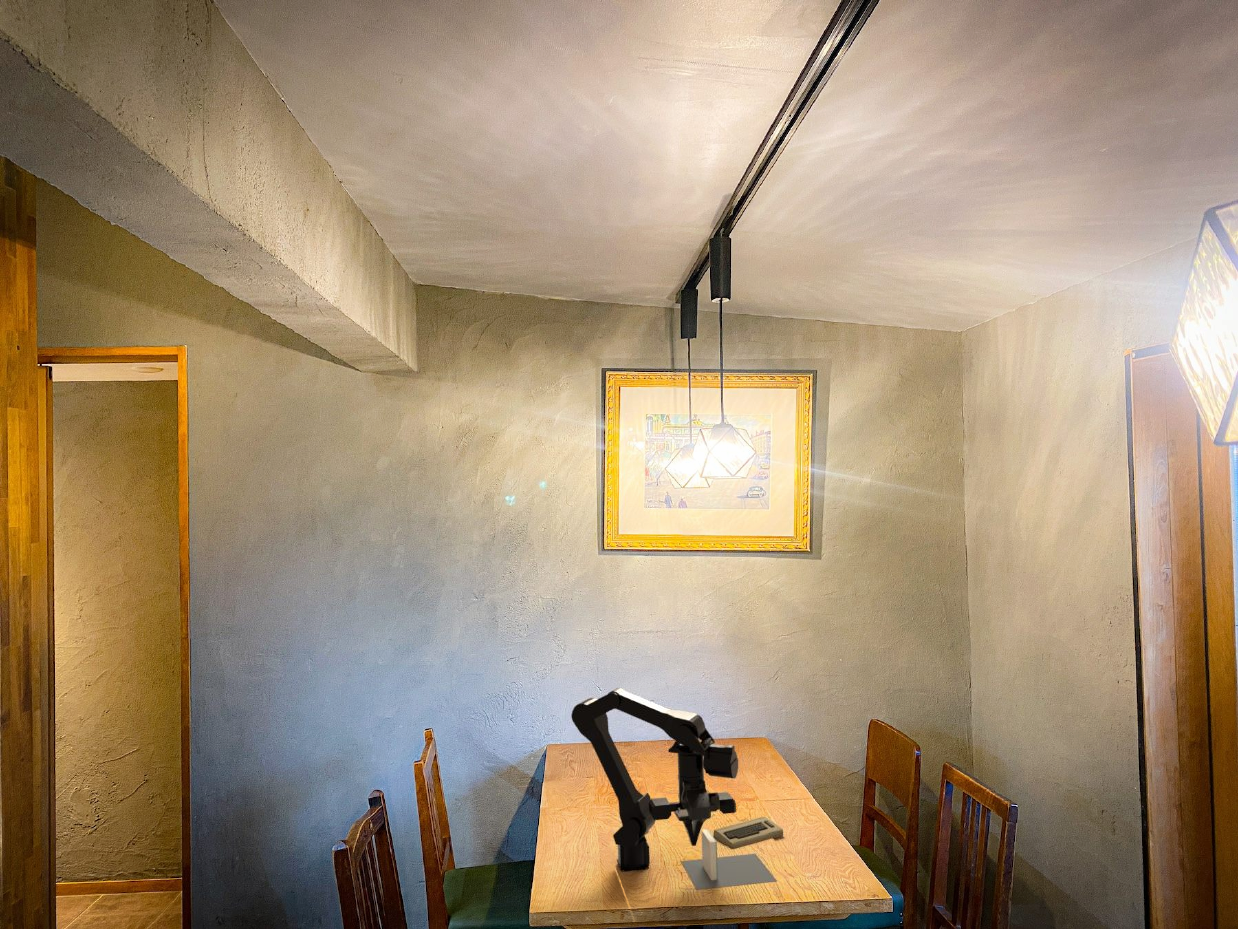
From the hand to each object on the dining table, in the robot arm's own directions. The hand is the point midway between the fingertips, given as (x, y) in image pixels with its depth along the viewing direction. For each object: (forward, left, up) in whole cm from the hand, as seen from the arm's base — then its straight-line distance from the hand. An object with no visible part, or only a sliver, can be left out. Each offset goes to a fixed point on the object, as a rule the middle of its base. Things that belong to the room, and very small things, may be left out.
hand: (693, 845), depth 173 cm
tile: (+4, 0, -6) cm, 7 cm away
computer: (+18, +17, -8) cm, 26 cm away
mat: (+8, 0, -7) cm, 10 cm away
